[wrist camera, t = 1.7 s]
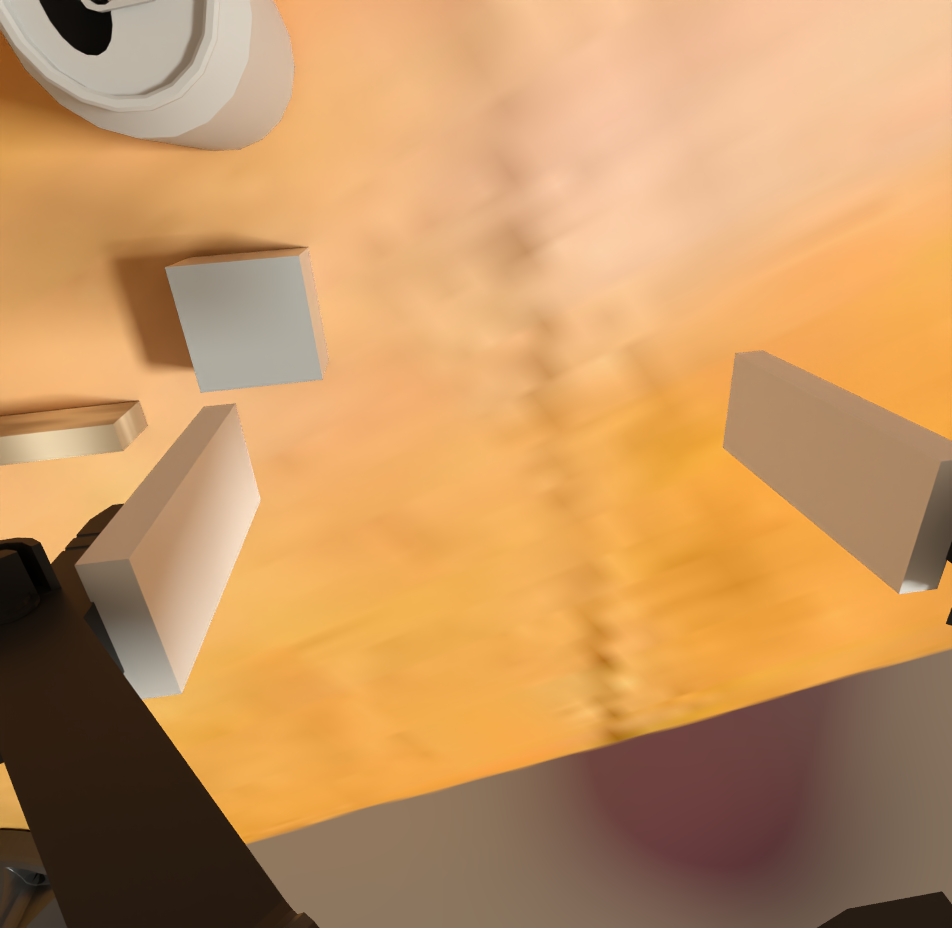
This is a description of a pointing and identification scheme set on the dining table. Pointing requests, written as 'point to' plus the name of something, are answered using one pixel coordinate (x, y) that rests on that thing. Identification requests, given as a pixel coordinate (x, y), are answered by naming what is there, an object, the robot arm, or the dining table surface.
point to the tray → (69, 432)
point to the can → (160, 65)
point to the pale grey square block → (250, 318)
